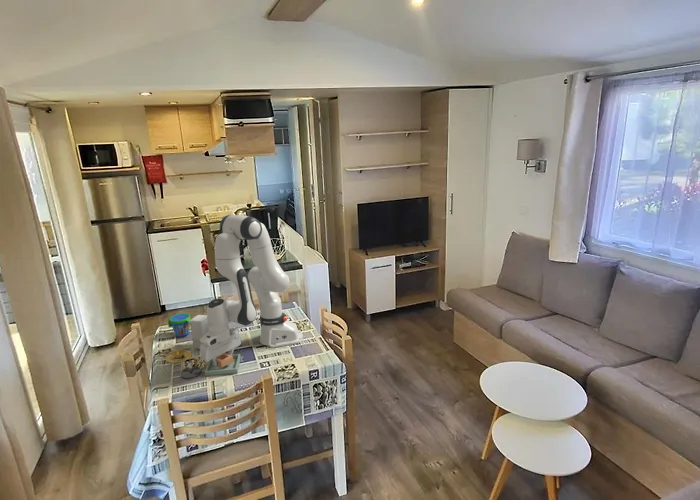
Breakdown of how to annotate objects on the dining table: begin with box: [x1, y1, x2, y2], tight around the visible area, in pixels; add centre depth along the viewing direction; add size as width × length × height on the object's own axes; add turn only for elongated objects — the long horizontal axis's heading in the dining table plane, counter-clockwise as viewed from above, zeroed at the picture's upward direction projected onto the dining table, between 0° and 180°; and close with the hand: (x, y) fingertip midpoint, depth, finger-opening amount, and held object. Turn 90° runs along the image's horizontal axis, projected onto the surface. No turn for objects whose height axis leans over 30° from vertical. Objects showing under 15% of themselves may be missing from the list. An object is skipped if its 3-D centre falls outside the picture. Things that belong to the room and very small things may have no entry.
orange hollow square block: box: [215, 352, 233, 367], centre depth 198 cm, size 6×6×3 cm
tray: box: [204, 353, 242, 378], centre depth 199 cm, size 14×14×2 cm
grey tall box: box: [190, 314, 209, 350], centre depth 218 cm, size 8×7×16 cm
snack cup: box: [167, 312, 192, 338], centre depth 233 cm, size 16×10×10 cm
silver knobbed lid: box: [179, 361, 202, 380], centre depth 194 cm, size 9×9×5 cm
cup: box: [165, 343, 193, 364], centre depth 209 cm, size 12×12×5 cm
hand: (223, 361), depth 198 cm, fingers closed on orange hollow square block, 6 cm apart
